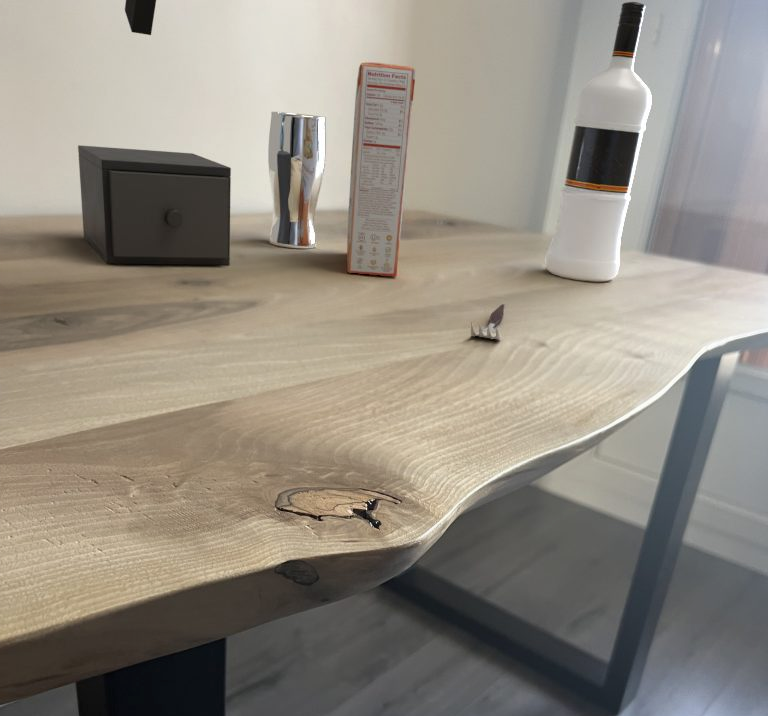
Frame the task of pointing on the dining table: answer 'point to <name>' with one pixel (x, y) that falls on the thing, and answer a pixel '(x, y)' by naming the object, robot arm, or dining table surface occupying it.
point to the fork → (491, 324)
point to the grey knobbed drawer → (168, 215)
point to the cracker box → (379, 167)
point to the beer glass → (295, 176)
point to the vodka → (602, 163)
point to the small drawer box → (104, 159)
